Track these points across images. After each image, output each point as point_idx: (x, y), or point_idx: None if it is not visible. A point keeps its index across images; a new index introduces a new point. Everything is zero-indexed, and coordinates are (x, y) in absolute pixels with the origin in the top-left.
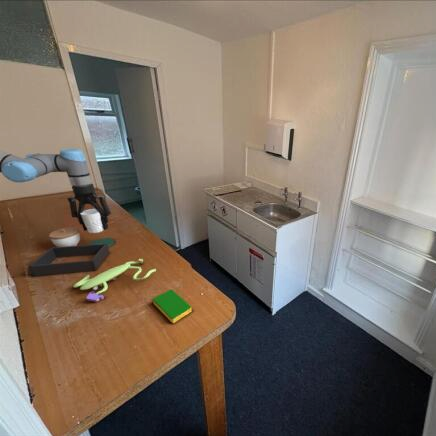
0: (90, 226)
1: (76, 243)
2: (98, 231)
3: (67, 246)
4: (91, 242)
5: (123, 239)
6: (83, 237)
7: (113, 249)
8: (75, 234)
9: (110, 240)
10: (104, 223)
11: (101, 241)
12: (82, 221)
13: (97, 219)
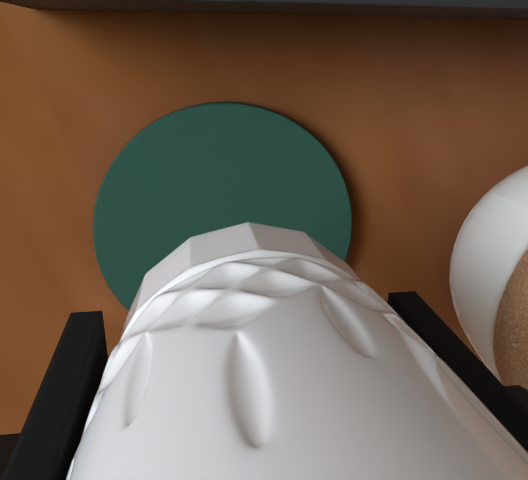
0: (285, 275)
1: (461, 227)
2: (173, 252)
3: (520, 2)
4: None
5: (33, 322)
6: None
7: (23, 86)
8: (512, 276)
9: None
10: (38, 413)
11: None
12: (504, 420)
13: (88, 463)
